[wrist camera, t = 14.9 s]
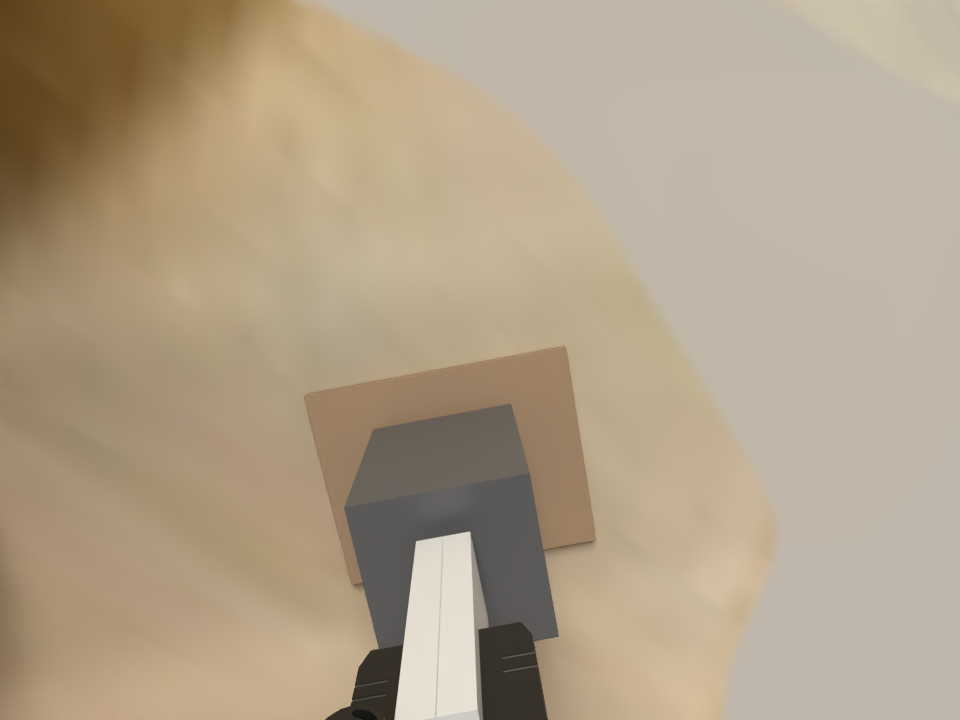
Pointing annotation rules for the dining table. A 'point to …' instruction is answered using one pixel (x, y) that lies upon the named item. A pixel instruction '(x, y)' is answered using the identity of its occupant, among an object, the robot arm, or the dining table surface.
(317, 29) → the dining table surface
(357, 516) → the charcoal cuboid
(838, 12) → the dining table surface
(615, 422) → the dining table surface
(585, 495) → the teal post on base
